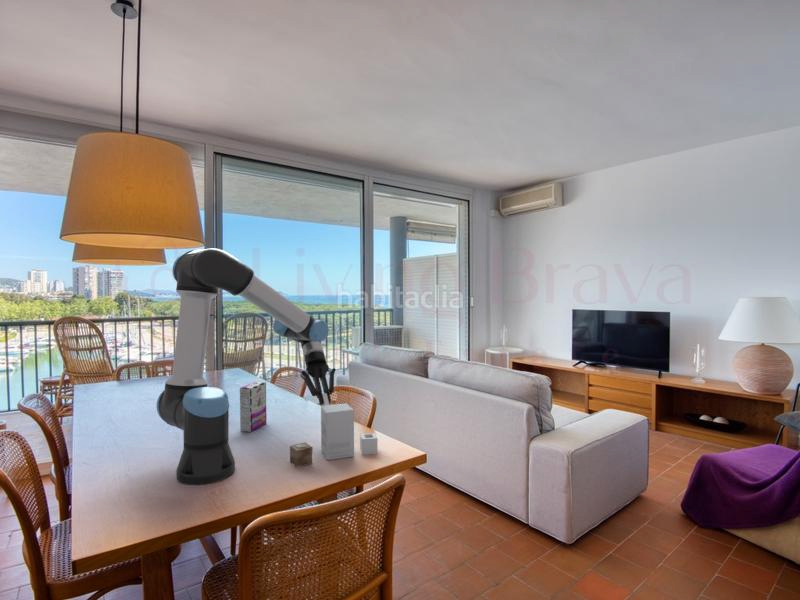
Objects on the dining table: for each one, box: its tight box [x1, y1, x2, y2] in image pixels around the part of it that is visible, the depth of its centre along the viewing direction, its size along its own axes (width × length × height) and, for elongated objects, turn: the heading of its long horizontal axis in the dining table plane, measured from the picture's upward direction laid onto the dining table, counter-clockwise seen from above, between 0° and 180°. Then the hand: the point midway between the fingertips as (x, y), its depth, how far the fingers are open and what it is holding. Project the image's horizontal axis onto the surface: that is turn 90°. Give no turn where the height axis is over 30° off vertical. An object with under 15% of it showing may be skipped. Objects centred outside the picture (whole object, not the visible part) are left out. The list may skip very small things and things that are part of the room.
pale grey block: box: [359, 432, 378, 455], centre depth 139 cm, size 5×5×5 cm
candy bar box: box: [239, 381, 267, 433], centre depth 162 cm, size 11×5×16 cm, turn 168°
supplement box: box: [320, 403, 355, 461], centre depth 136 cm, size 9×9×15 cm
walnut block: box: [289, 442, 313, 468], centre depth 129 cm, size 5×5×5 cm
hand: (327, 411), depth 145 cm, fingers closed
